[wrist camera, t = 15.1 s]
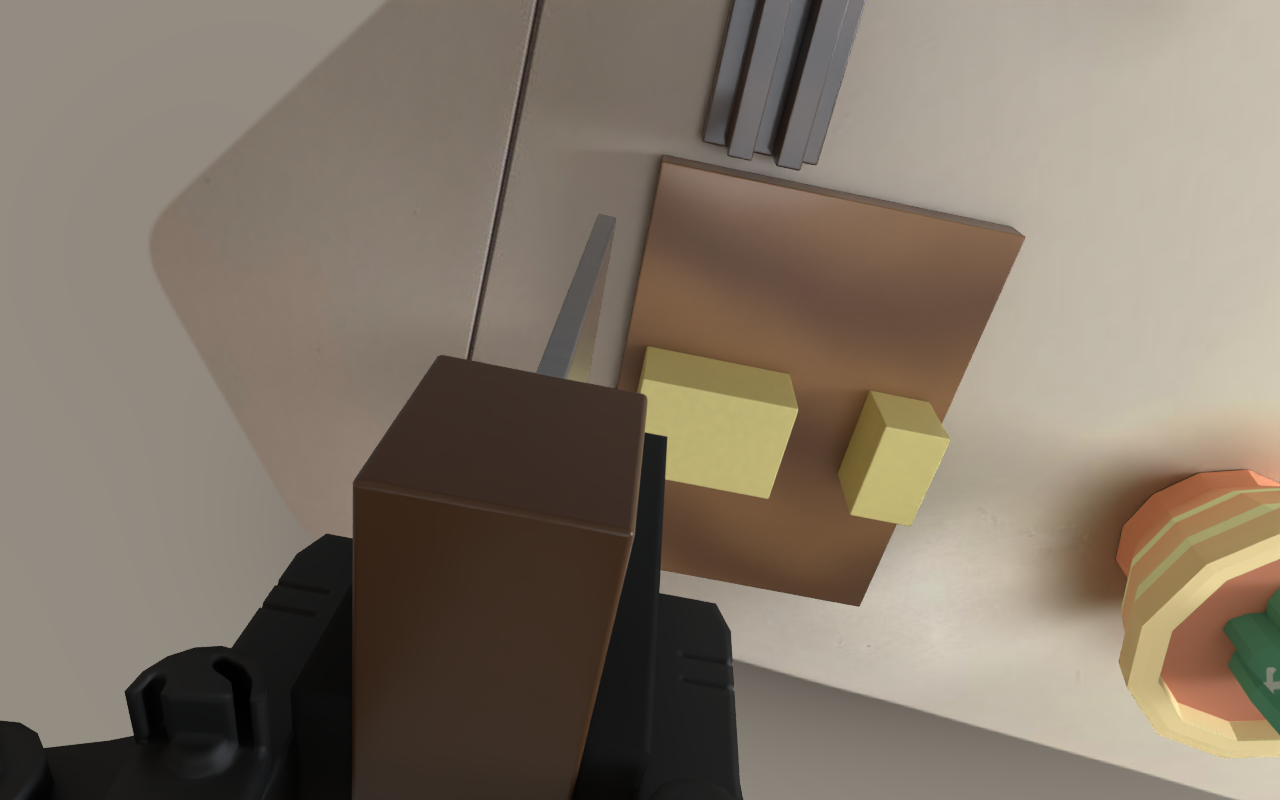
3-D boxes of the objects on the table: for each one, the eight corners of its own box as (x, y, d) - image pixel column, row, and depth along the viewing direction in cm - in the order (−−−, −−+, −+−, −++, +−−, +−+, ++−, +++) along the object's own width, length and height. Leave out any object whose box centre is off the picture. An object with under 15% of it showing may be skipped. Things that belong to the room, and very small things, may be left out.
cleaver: (555, 180, 16) (350, 480, 6) (667, 202, 16) (636, 533, 6) (511, 515, 20) (349, 998, 11) (599, 531, 20) (518, 1024, 11)
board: (663, 154, 33) (662, 161, 32) (1013, 226, 34) (1026, 236, 32) (587, 539, 44) (583, 555, 42) (854, 589, 44) (859, 607, 43)
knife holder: (762, -140, 28) (770, -153, 25) (893, -110, 28) (914, -120, 25) (701, 138, 33) (702, 150, 30) (813, 161, 33) (824, 176, 30)
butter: (646, 345, 36) (642, 378, 33) (789, 373, 36) (799, 409, 33) (628, 433, 38) (622, 471, 35) (762, 458, 39) (768, 499, 35)
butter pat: (869, 389, 36) (885, 426, 33) (929, 401, 36) (951, 439, 33) (837, 473, 39) (849, 515, 36) (893, 484, 39) (910, 527, 36)
